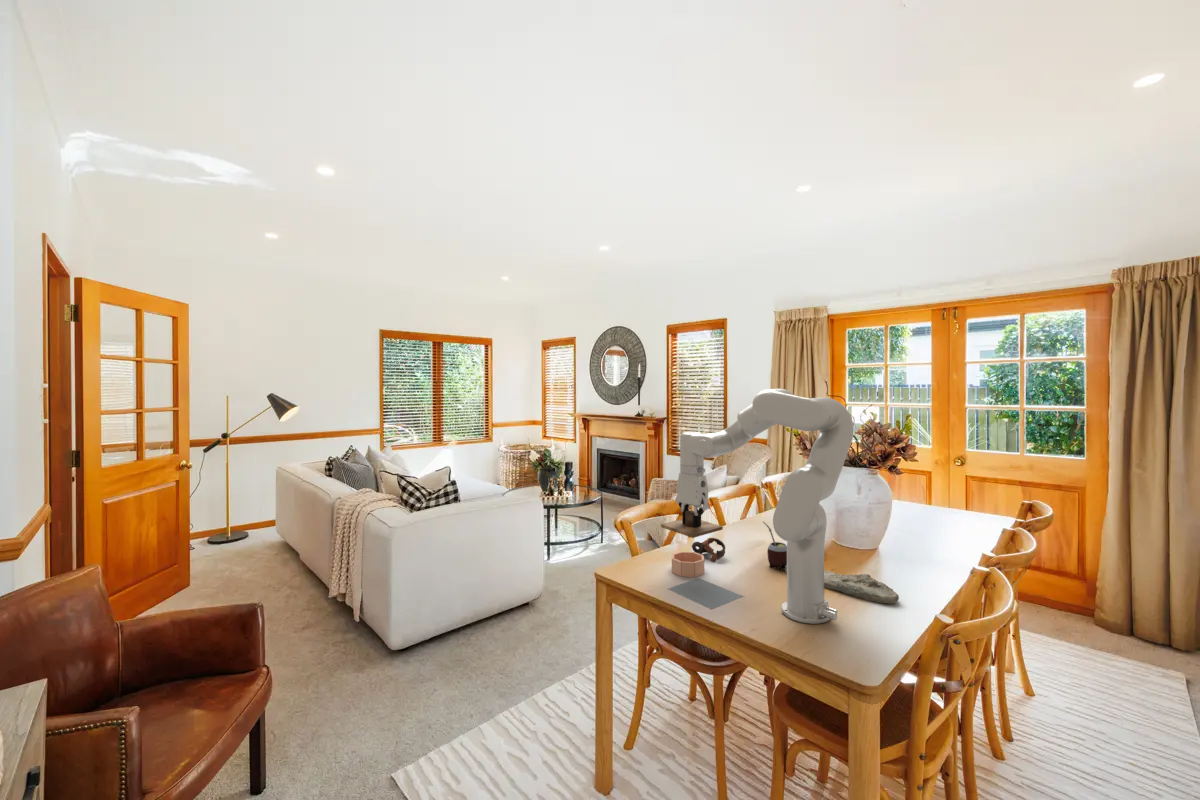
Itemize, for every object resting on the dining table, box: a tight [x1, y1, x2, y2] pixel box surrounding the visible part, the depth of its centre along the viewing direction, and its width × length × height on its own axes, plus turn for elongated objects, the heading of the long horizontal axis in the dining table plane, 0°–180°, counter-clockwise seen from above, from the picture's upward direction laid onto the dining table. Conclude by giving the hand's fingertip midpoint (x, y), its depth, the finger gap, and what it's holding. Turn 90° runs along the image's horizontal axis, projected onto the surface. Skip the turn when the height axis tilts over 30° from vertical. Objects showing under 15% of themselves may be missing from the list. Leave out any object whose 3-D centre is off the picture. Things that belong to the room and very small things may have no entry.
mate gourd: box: [762, 521, 787, 571], centre depth 172 cm, size 8×8×15 cm
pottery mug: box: [691, 537, 726, 563], centre depth 182 cm, size 12×10×8 cm
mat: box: [667, 577, 744, 610], centre depth 151 cm, size 18×14×1 cm
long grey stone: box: [784, 564, 900, 605], centre depth 155 cm, size 35×5×10 cm
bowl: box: [671, 551, 705, 578], centre depth 169 cm, size 11×11×5 cm
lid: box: [660, 509, 724, 539], centre depth 162 cm, size 14×14×5 cm
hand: (691, 524), depth 162 cm, fingers closed on lid, 4 cm apart
